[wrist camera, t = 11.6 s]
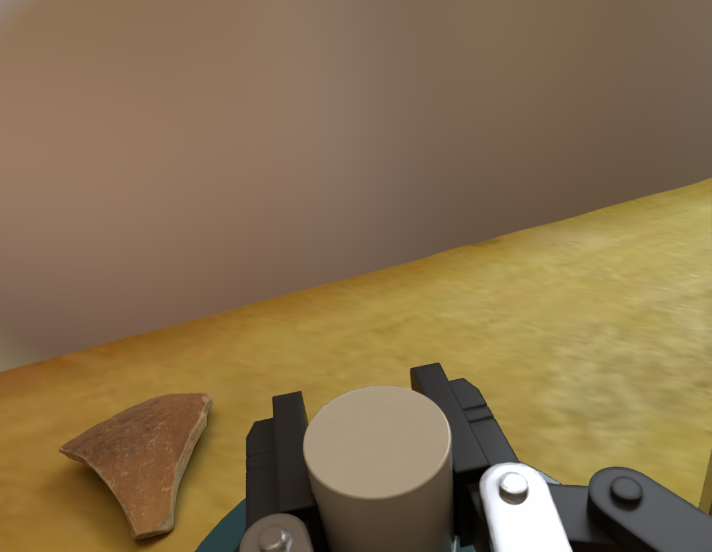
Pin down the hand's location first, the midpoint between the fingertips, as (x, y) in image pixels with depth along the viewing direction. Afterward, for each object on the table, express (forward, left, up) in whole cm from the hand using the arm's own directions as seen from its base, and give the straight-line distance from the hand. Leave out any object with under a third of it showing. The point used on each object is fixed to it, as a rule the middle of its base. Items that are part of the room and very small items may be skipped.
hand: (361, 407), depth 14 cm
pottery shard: (+8, +20, -17) cm, 27 cm away
